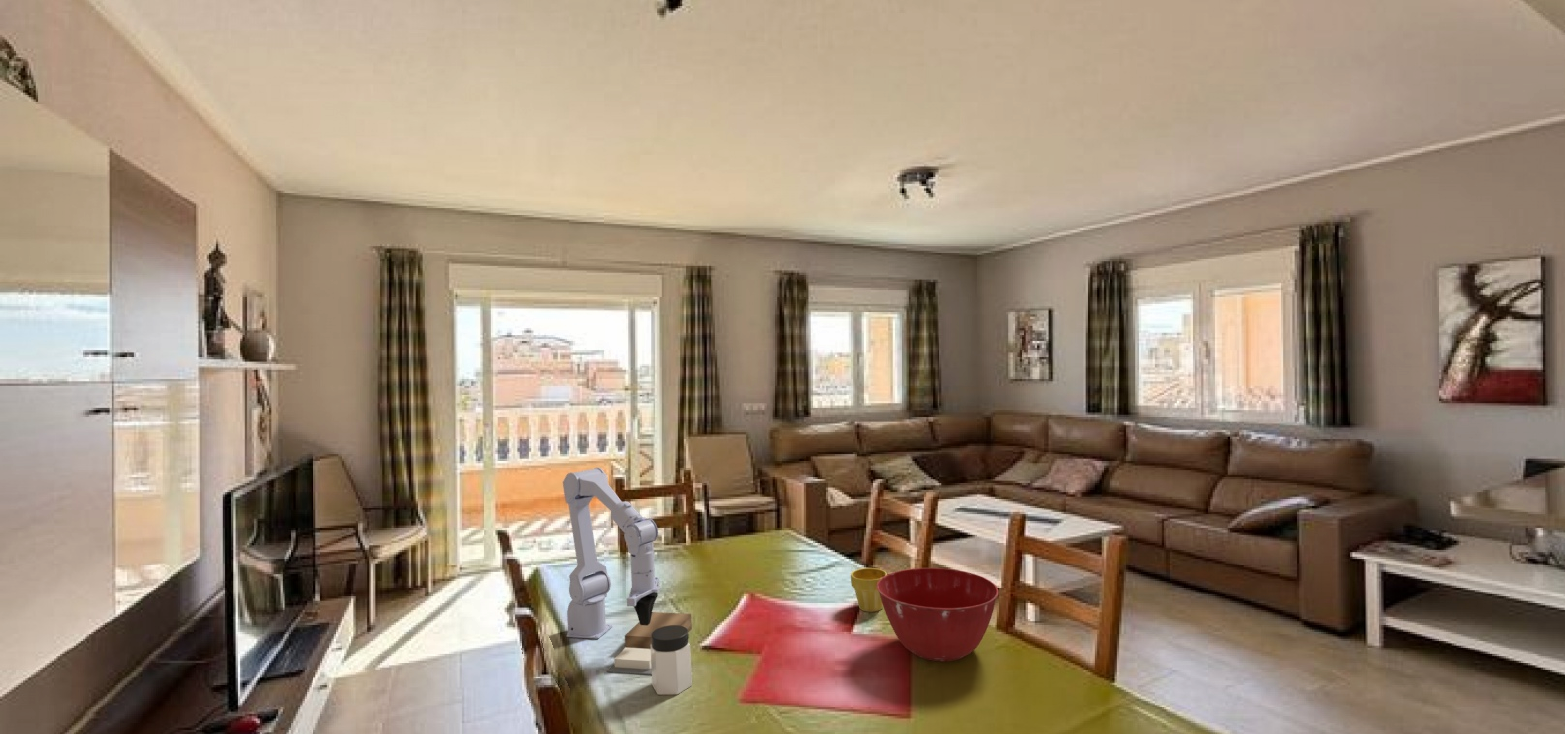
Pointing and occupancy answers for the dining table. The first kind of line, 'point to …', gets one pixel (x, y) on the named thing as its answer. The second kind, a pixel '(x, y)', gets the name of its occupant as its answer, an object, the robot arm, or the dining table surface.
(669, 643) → the jar
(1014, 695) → the dining table surface
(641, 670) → the mat
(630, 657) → the cream rectangular block
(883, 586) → the mixing bowl
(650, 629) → the plate
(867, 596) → the plant pot
